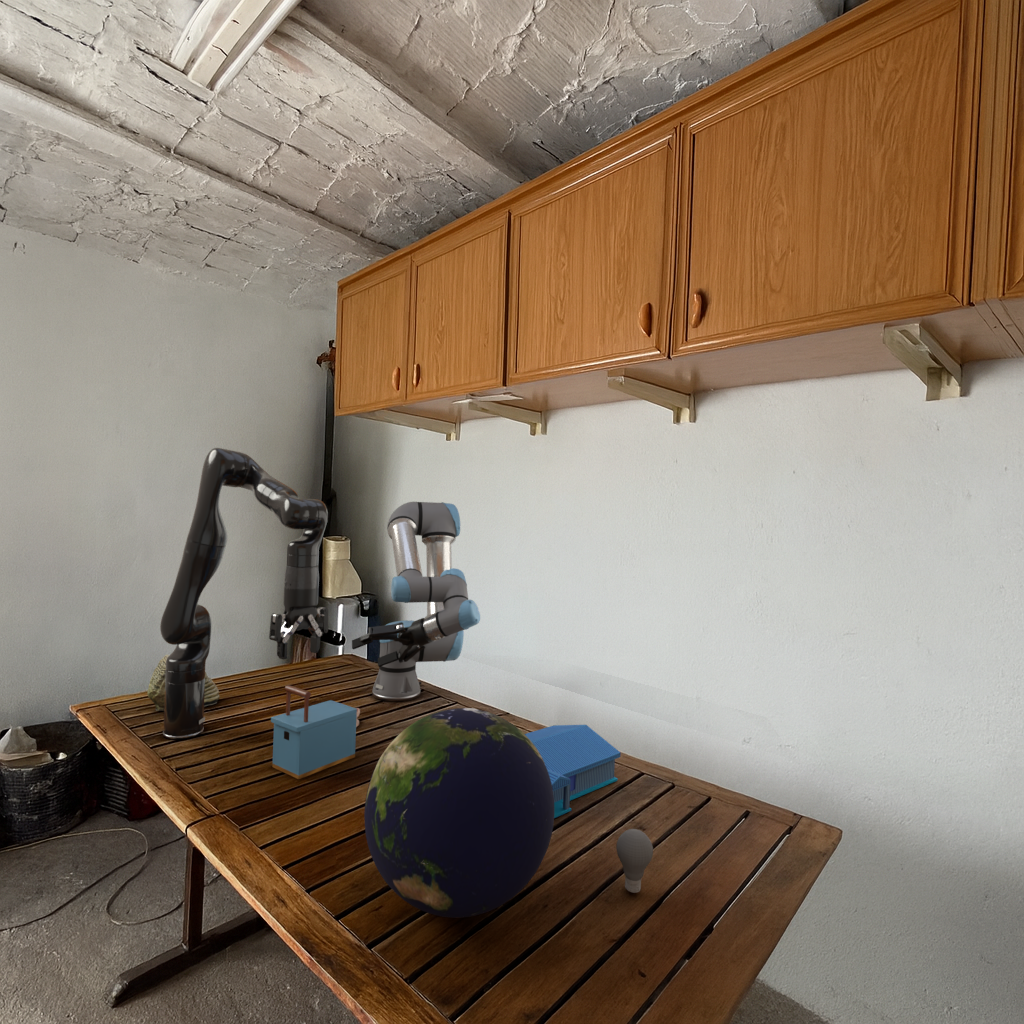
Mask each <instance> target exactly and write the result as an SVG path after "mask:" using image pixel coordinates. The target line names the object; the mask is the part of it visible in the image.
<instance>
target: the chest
mask: <svg viewBox="0 0 1024 1024" xmlns="http://www.w3.org/2000/svg"><path fill="white" fill-rule="evenodd" d="M356 718H357V714H353V715H350V716H347V717H344V718H340V719H337V720H334V721H331V722H328V723H325V724H322V725H319V726H316V727H313V728H310V729H306V730H303V731H300V732H295V731H292V730H290V729H287V728H284V727H282V726H279V725H277V724H274V723H273V740H272V741H273V742H272V743H273V744H272V763H271V764H272V766H271V767H272V768H273V769H275V770H277V771H280V772H282V773H284V774H286V775H289V776H290V777H293V778H295V779H297V780H301V779H303V778H306V777H308V776H311V775H313V774H316V773H319V772H321V771H323V770H326V769H328V768H332V767H334V766H336V765H338V764H342V763H343V762H346V761H349V760H352V759H354V758H356V741H357V739H356V738H357V727H356ZM357 719H358V718H357Z"/></svg>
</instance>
